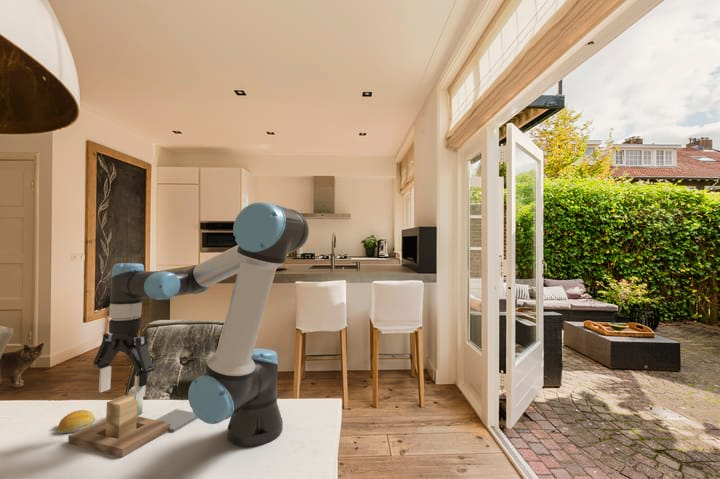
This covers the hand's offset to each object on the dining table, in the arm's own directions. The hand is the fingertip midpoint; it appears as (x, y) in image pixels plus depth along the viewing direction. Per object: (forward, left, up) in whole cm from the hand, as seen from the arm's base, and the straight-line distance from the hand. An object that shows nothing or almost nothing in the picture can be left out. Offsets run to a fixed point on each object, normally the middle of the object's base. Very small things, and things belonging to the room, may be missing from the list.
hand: (121, 394), depth 94 cm
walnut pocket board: (0, 0, -11) cm, 11 cm away
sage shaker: (+9, -11, -11) cm, 18 cm away
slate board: (-7, -12, -11) cm, 18 cm away
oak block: (0, 0, -11) cm, 11 cm away
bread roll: (+18, 0, -12) cm, 21 cm away
